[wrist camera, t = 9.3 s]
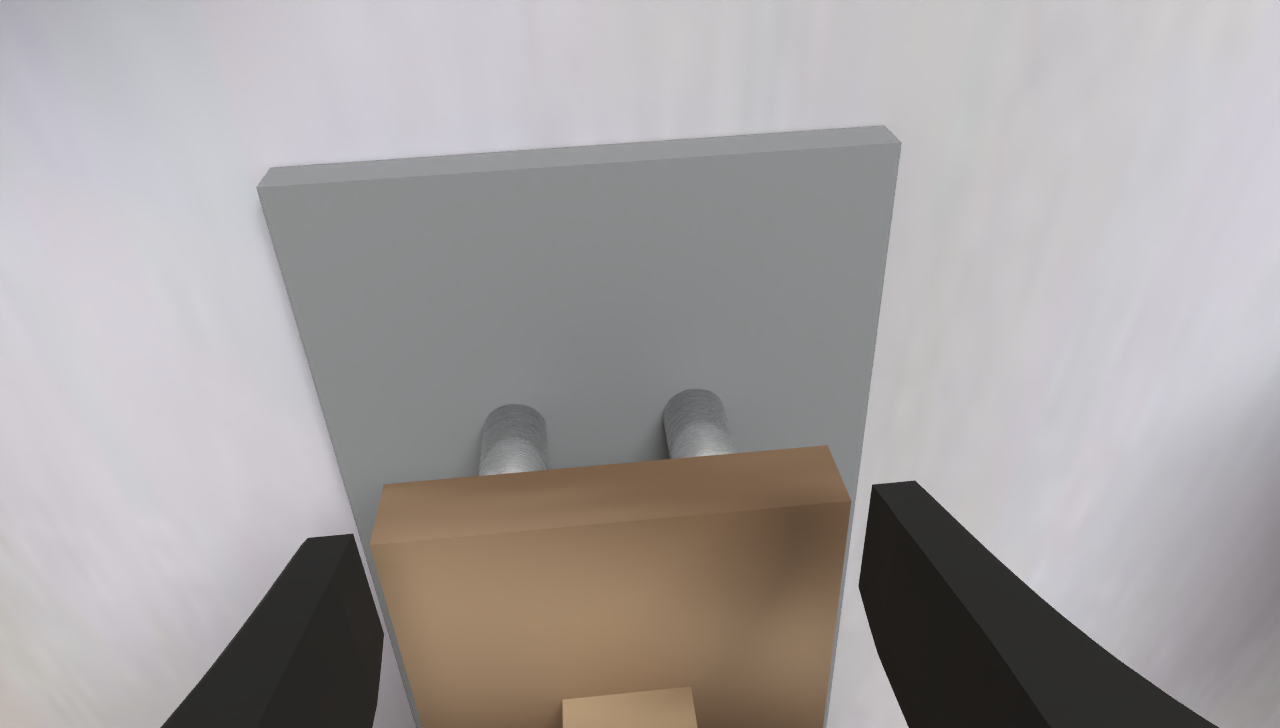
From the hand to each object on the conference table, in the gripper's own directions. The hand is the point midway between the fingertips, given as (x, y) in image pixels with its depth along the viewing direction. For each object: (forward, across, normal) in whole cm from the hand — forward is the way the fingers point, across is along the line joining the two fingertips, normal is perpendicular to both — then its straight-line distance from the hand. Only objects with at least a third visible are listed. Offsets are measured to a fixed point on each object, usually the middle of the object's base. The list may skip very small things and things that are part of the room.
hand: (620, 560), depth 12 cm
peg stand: (+8, 0, +8) cm, 11 cm away
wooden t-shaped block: (+3, 0, +8) cm, 9 cm away
